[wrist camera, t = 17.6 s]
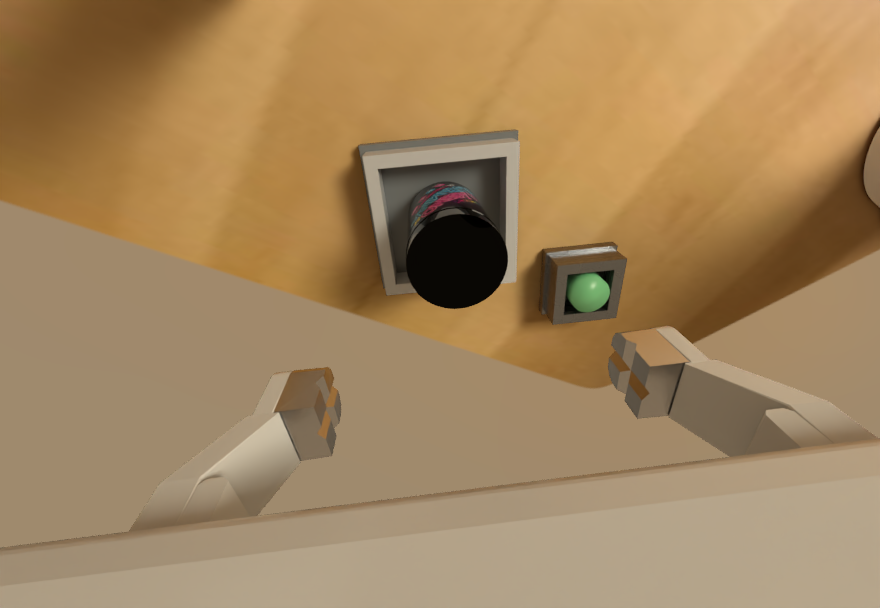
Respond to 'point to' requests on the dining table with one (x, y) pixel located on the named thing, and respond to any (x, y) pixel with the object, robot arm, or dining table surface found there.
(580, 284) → the button
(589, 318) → the button housing
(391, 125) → the dining table surface
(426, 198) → the supplement container
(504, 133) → the square shallow tray
